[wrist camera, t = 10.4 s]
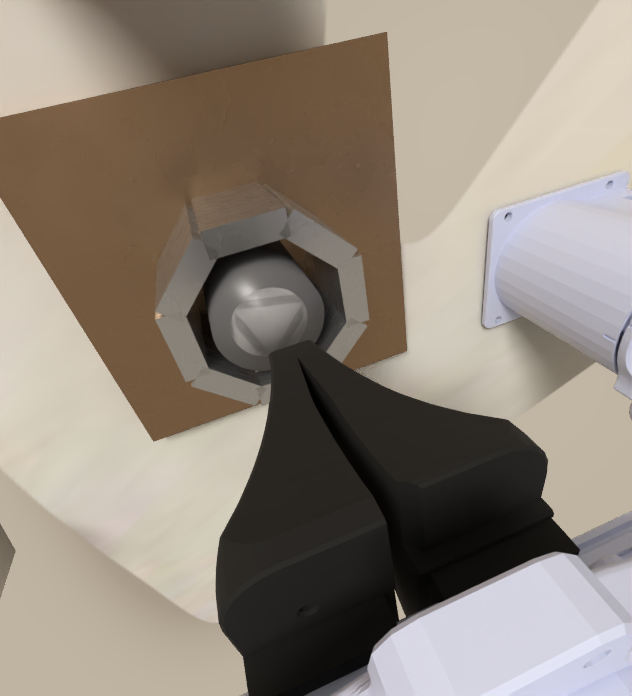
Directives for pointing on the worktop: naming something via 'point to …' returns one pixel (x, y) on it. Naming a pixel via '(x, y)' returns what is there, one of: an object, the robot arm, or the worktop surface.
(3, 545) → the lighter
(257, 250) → the grey short cylinder
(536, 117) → the worktop surface
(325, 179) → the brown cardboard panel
